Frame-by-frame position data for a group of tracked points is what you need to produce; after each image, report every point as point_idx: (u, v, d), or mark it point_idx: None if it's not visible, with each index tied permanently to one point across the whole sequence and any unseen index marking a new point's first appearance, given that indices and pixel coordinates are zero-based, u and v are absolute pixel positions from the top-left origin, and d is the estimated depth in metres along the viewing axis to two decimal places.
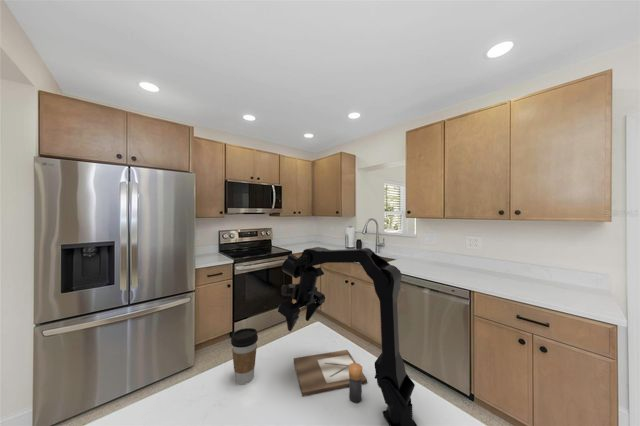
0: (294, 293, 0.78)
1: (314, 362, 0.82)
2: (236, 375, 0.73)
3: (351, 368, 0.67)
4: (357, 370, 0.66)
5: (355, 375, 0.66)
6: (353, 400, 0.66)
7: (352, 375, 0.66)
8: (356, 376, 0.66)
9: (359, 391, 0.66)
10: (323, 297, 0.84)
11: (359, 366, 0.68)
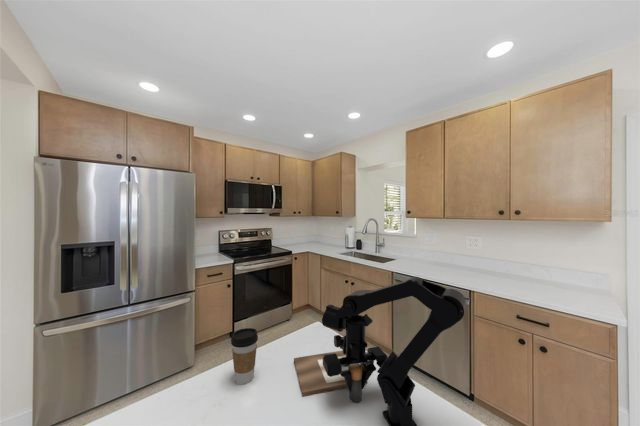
0: (343, 346, 0.69)
1: (314, 362, 0.82)
2: (236, 375, 0.73)
3: (351, 368, 0.67)
4: (357, 370, 0.66)
5: (355, 375, 0.66)
6: (353, 400, 0.66)
7: (352, 375, 0.66)
8: (356, 376, 0.66)
9: (359, 391, 0.66)
10: (384, 358, 0.67)
11: (359, 366, 0.68)
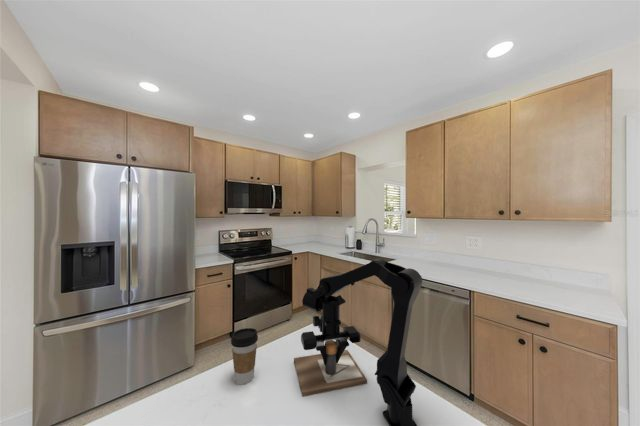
0: (320, 325, 0.76)
1: (314, 362, 0.82)
2: (236, 375, 0.73)
3: (326, 344, 0.74)
4: (332, 345, 0.73)
5: (330, 350, 0.73)
6: (328, 372, 0.73)
7: (327, 350, 0.73)
8: (330, 351, 0.73)
9: (333, 364, 0.73)
10: (356, 335, 0.74)
11: (334, 342, 0.75)
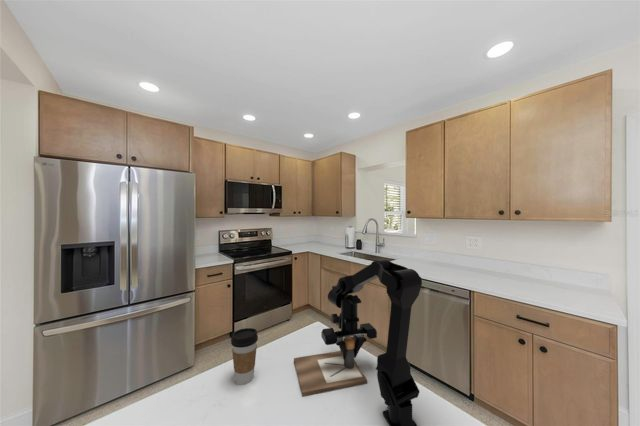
0: (339, 322, 0.82)
1: (314, 362, 0.82)
2: (236, 375, 0.73)
3: (345, 340, 0.80)
4: (350, 341, 0.79)
5: (349, 345, 0.78)
6: (347, 366, 0.79)
7: (346, 345, 0.79)
8: (349, 346, 0.78)
9: (352, 359, 0.79)
10: (373, 331, 0.80)
11: (352, 338, 0.81)
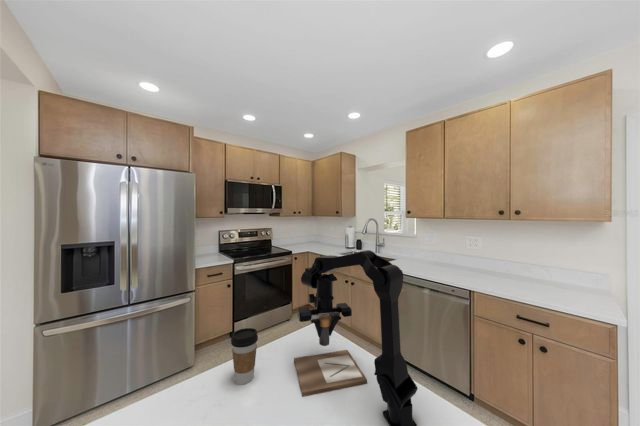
0: (315, 301, 0.83)
1: (314, 362, 0.82)
2: (236, 375, 0.73)
3: (320, 318, 0.81)
4: (325, 319, 0.80)
5: (323, 323, 0.80)
6: (322, 343, 0.80)
7: (321, 323, 0.80)
8: (324, 324, 0.80)
9: (327, 336, 0.80)
10: (348, 310, 0.81)
11: (327, 317, 0.82)
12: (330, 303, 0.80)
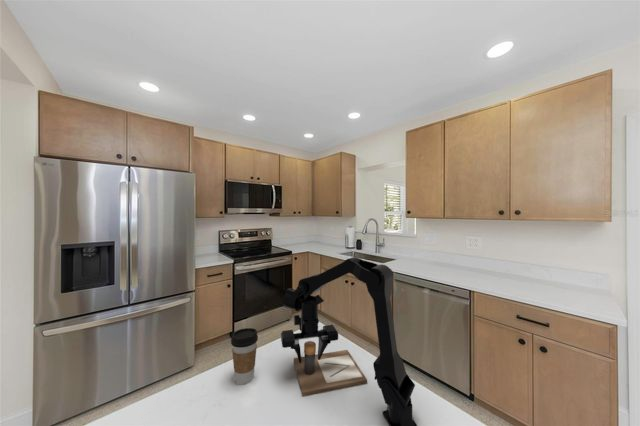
0: (300, 323, 0.79)
1: None
2: (236, 375, 0.73)
3: (306, 345, 0.77)
4: (310, 346, 0.76)
5: (308, 350, 0.76)
6: (306, 372, 0.76)
7: (306, 351, 0.76)
8: (309, 351, 0.76)
9: (312, 365, 0.76)
10: (334, 333, 0.77)
11: (313, 343, 0.78)
12: (315, 327, 0.76)
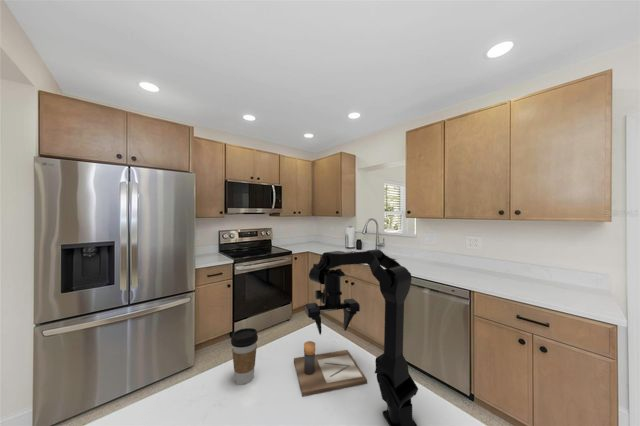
0: (322, 297, 0.82)
1: None
2: (236, 375, 0.73)
3: (305, 345, 0.77)
4: (310, 346, 0.76)
5: (308, 351, 0.76)
6: (306, 372, 0.76)
7: (306, 351, 0.76)
8: (309, 351, 0.76)
9: (312, 365, 0.76)
10: (356, 305, 0.80)
11: (313, 343, 0.78)
12: (338, 298, 0.79)
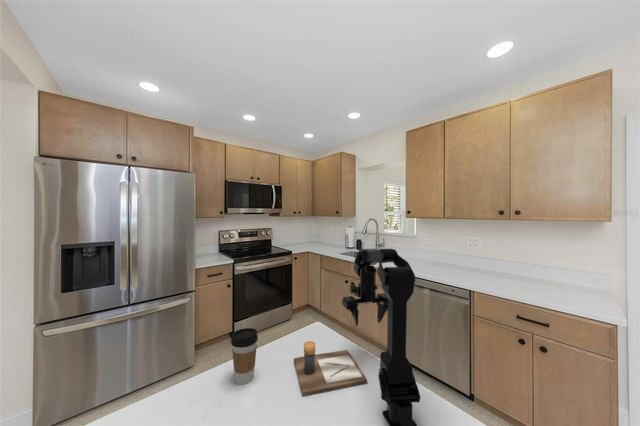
0: (358, 291, 0.88)
1: None
2: (236, 375, 0.73)
3: (305, 345, 0.77)
4: (310, 346, 0.76)
5: (308, 350, 0.76)
6: (306, 372, 0.76)
7: (306, 351, 0.76)
8: (309, 351, 0.76)
9: (312, 364, 0.76)
10: None
11: (313, 343, 0.78)
12: (374, 292, 0.85)
